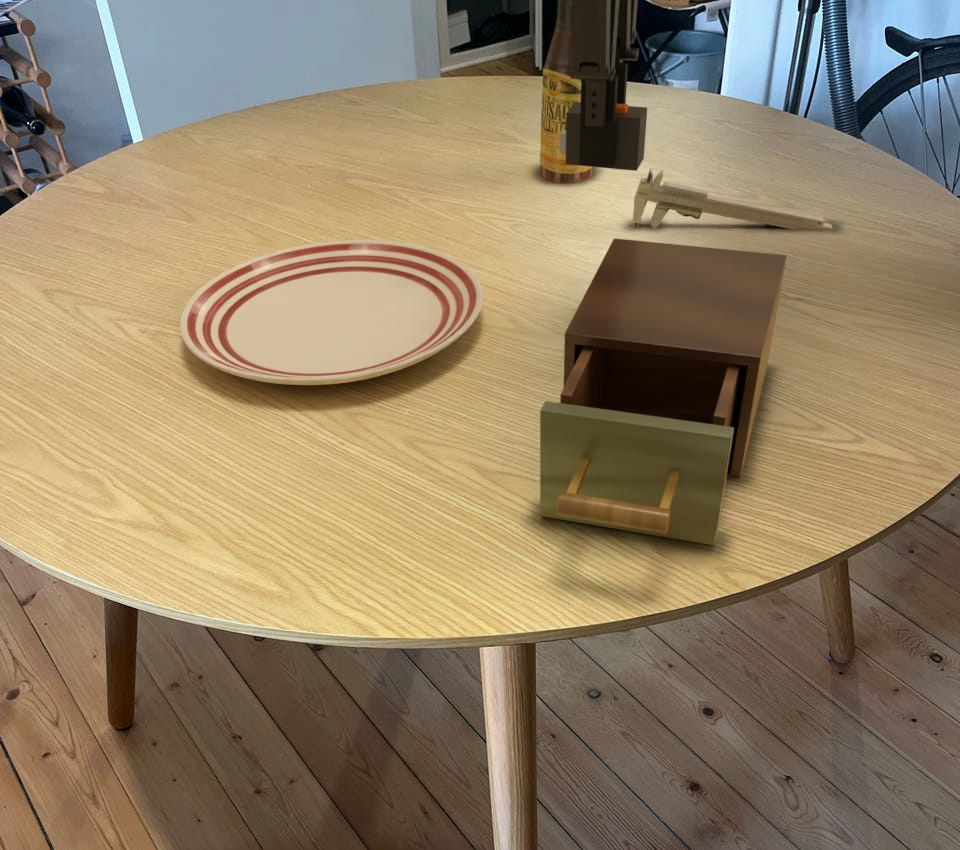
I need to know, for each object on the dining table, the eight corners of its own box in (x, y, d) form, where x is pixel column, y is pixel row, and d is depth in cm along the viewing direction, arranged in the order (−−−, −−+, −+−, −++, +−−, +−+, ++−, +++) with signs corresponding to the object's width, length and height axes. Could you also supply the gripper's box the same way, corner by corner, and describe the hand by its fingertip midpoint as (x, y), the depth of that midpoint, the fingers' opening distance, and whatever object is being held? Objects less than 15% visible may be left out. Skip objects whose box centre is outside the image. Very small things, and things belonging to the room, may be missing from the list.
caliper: (632, 233, 107) (636, 171, 102) (632, 229, 107) (636, 167, 103) (833, 234, 104) (846, 171, 100) (832, 230, 105) (845, 167, 100)
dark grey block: (643, 159, 84) (647, 101, 81) (636, 171, 83) (640, 113, 80) (564, 152, 86) (565, 95, 83) (555, 163, 84) (556, 106, 81)
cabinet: (739, 484, 76) (761, 357, 68) (562, 457, 79) (564, 333, 72) (765, 376, 86) (786, 254, 79) (607, 356, 90) (613, 237, 82)
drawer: (700, 601, 66) (717, 492, 60) (517, 567, 69) (514, 460, 63) (743, 428, 79) (761, 324, 73) (588, 407, 82) (592, 305, 76)
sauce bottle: (529, 179, 117) (527, -21, 103) (565, 163, 120) (568, -34, 106) (571, 194, 114) (576, -11, 100) (607, 177, 117) (617, -25, 103)
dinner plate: (165, 299, 101) (156, 266, 98) (427, 244, 107) (425, 212, 104) (218, 446, 82) (208, 410, 80) (530, 370, 88) (530, 335, 86)
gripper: (646, -196, 61) (624, 199, 78) (694, -230, 71) (665, 126, 88) (526, -195, 63) (530, 190, 80) (590, -228, 73) (581, 120, 90)
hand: (601, 156), depth 84 cm, fingers closed on dark grey block, 3 cm apart
